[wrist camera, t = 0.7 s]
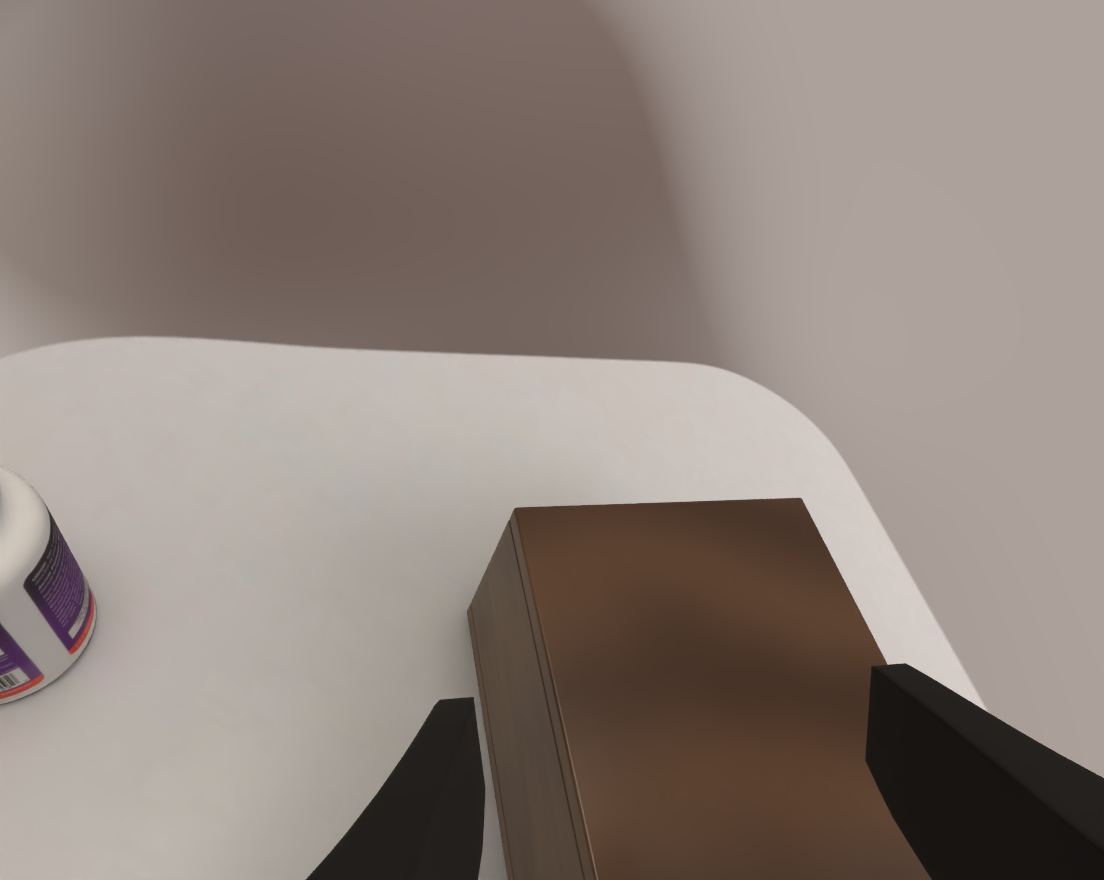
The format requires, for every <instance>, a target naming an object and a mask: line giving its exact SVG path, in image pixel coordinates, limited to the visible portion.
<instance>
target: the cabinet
mask: <svg viewBox="0 0 1104 880" xmlns="http://www.w3.org/2000/svg"><path fill="white" fill-rule="evenodd" d="M467 613H468V619H469V626H470V632H471V639H472V645H473V652H474V658H475V665H476V672H477V678H478V685H479V691H480V698H481V704H482V711H483V717H484V724H485V731H486V737H487V744H488V750H489V757H490V763H491V770H492V777H493V783H494V790H495V796H496V803H497V809H498V816H499V822H500V829H501V836H502V842H503V849H504V855H505V862H506V868H507V875H508V880H931V878H930V876H929V875H928V873H927V872H926V870H925V869H924V867H923V865H922V864H921V862H920V861H919V859H918V857H917V856H916V854H915V853H914V851H913V849H912V848H911V846H910V845H909V843H908V841H907V840H906V838H905V837H904V835H903V833H902V832H901V830H900V829H899V827H898V825H897V824H896V822H895V820H894V819H893V817H892V815H891V813H890V811H889V809H888V807H887V805H886V803H885V801H884V799H883V797H882V795H881V793H880V791H879V789H878V787H877V785H876V782H875V780H874V778H873V776H872V774H871V772H870V769H869V767H868V765H867V763H866V761H865V756H866V741H867V726H868V711H869V696H870V681H871V666H879V665H888V664H887V663H886V661H885V659H884V657H883V655H882V653H881V651H880V649H879V647H878V645H877V643H876V641H875V639H874V637H873V635H872V634H871V632H870V630H869V628H868V626H867V624H866V622H865V620H864V618H863V616H862V614H861V612H860V610H859V608H858V606H857V605H856V603H855V601H854V599H853V597H852V595H851V593H850V591H849V589H848V587H847V585H846V583H845V581H844V579H843V577H842V576H841V574H840V572H839V570H838V568H837V566H836V564H835V562H834V560H833V558H832V556H831V554H830V552H829V550H828V548H827V547H826V545H825V543H824V541H823V539H822V537H821V535H820V533H819V531H818V529H817V527H816V525H815V523H814V521H813V519H812V518H811V516H810V514H809V512H808V510H807V508H806V506H805V504H804V502H803V500H802V499H801V498H782V499H753V500H724V501H695V502H666V503H637V504H608V505H580V506H551V507H522V508H515V509H514V510H513V513H512V515H511V517H510V520H509V521H508V523H507V525H506V528H505V530H504V532H503V534H502V536H501V539H500V541H499V543H498V545H497V547H496V550H495V552H494V554H493V556H492V558H491V560H490V563H489V565H488V567H487V569H486V571H485V574H484V576H483V578H482V580H481V582H480V585H479V587H478V589H477V591H476V593H475V596H474V598H473V600H472V602H471V604H470V606H469V608H468V610H467Z"/></svg>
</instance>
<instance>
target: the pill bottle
mask: <svg viewBox="0 0 1104 880" xmlns="http://www.w3.org/2000/svg"><path fill="white" fill-rule="evenodd" d="M95 621H96V604H95V599H94V596H93V593H92V591H91V589H90V586H89V584H88V582H87V580H86V578H85V576H84V575H83V573H82V571H81V569H80V567H79V565H78V563H77V562H76V560H75V558H74V556H73V554H72V553H71V551H70V549H69V547H68V545H67V543H66V541H65V539H64V538H63V536H62V534H61V532H60V530H59V528H58V527H57V525H56V523H55V521H54V519H53V517H52V515H51V513H50V511H49V510H48V508H47V506H46V504H45V503H44V501H43V499H42V498H41V497H40V495H39V494H38V492H37V491H36V490H35V488H34V487H33V486H32V485H31V484H30V483H29V482H27V481H26V480H25V479H24V478H22V477H21V476H19V475H18V474H16V473H14V472H12V471H10V470H8V469H6V468H4V467H1V466H0V704H3V703H7V702H10V701H14V700H17V699H19V698H22V697H24V696H27V695H29V694H31V693H33V692H35V691H37V690H39V689H41V688H42V687H44V686H46V685H47V684H49V683H50V682H52V681H53V680H55V679H56V678H57V677H59V676H60V675H61V674H62V673H64V672H65V671H66V670H67V669H68V668H69V667H70V666H71V665H72V664H73V663H74V662H75V661H76V659H77V658H78V657H79V656H80V654H81V653H82V651H83V650H84V648H85V647H86V645H87V643H88V642H89V639H90V637H91V635H92V632H93V629H94V626H95Z"/></svg>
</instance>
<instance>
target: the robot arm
mask: <svg viewBox="0 0 1104 880" xmlns="http://www.w3.org/2000/svg"><path fill="white" fill-rule="evenodd" d="M865 761H866V763H867V765H868V767H869V769H870V772H871V774H872V776H873V778H874V780H875V782H876V785H877V787H878V789H879V791H880V793H881V795H882V797H883V799H884V801H885V803H886V805H887V807H888V809H889V811H890V813H891V815H892V817H893V819H894V820H895V822H896V824H897V825H898V827H899V829H900V830H901V832H902V833H903V835H904V837H905V838H906V840H907V841H908V843H909V845H910V846H911V848H912V849H913V851H914V853H915V854H916V856H917V857H918V859H919V861H920V862H921V864H922V865H923V867H924V869H925V870H926V872H927V873H928V875H929V876H930V878H931V880H1104V778H1103V777H1101V776H1099V775H1097V774H1095V773H1093V772H1091V771H1089V770H1088V769H1086V768H1084V767H1082V766H1080V765H1078V764H1077V763H1075V762H1073V761H1071V760H1069V759H1067V758H1066V757H1064V756H1062V755H1060V754H1058V753H1056V752H1055V751H1053V750H1051V749H1049V748H1048V747H1046V746H1044V745H1042V744H1041V743H1039V742H1037V741H1035V740H1034V739H1032V738H1030V737H1028V736H1027V735H1025V734H1023V733H1021V732H1020V731H1018V730H1016V729H1015V728H1013V727H1011V726H1010V725H1008V724H1006V723H1005V722H1003V721H1001V720H1000V719H998V718H996V717H995V716H993V715H991V714H990V713H988V712H986V711H985V710H983V709H981V708H980V707H978V706H977V705H975V704H973V703H972V702H970V701H968V700H967V699H965V698H963V697H962V696H960V695H959V694H957V693H955V692H954V691H952V690H950V689H949V688H947V687H945V686H944V685H942V684H940V683H939V682H937V681H935V680H934V679H932V678H930V677H929V676H927V675H925V674H924V673H922V672H920V671H918V670H917V669H915V668H913V667H911V666H909V665H907V664H892V665H879V666H871V681H870V696H869V711H868V726H867V741H866V756H865ZM484 808H485V783H484V775H483V767H482V760H481V752H480V744H479V736H478V729H477V721H476V713H475V705H474V698H473V697H468V698H455V699H443V700H439V701H438V702H437V703H436V705H435V706H434V707H433V709H432V711H431V712H430V714H429V716H428V717H427V719H426V721H425V722H424V724H423V726H422V727H421V729H420V731H419V732H418V734H417V735H416V737H415V739H414V740H413V742H412V743H411V745H410V746H409V748H408V749H407V751H406V752H405V754H404V756H403V757H402V758H401V760H400V761H399V763H398V764H397V766H396V767H395V769H394V770H393V771H392V773H391V774H390V776H389V777H388V779H387V780H386V782H385V783H384V784H383V786H382V787H381V789H380V790H379V791H378V793H377V794H376V796H375V797H374V798H373V799H372V801H371V802H370V803H369V805H368V806H367V807H366V808H365V810H364V811H363V812H362V814H361V815H360V816H359V818H358V819H357V820H356V821H355V823H354V824H353V825H352V827H351V828H350V829H349V830H348V832H347V833H346V834H345V835H344V837H343V838H342V839H341V840H340V841H339V843H338V844H337V845H336V846H335V847H334V849H333V850H332V851H331V852H330V853H329V854H328V855H327V857H326V858H325V859H324V860H323V861H322V862H321V863H320V865H319V866H318V867H317V868H316V869H315V870H314V871H313V872H312V873H311V874H310V876H309V877H308V878H307V879H306V880H478V875H479V868H480V861H481V855H482V847H483V829H484Z"/></svg>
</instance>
